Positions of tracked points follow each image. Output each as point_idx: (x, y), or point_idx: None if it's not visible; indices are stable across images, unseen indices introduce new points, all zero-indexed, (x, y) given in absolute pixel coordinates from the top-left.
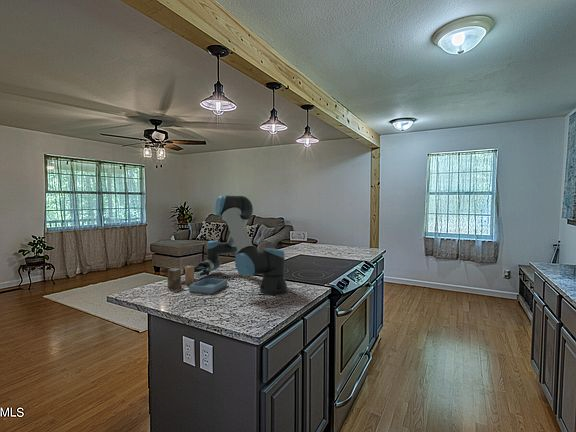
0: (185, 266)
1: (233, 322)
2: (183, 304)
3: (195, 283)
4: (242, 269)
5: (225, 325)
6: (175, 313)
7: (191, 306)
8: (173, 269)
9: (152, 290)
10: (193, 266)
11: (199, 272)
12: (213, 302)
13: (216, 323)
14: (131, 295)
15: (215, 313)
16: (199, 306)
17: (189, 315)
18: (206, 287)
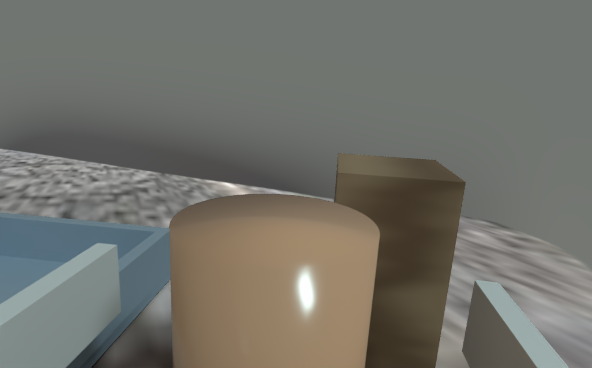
0: (375, 224)
1: (8, 160)
2: (168, 199)
3: (122, 259)
4: None
5: (36, 157)
6: (178, 176)
7: (132, 193)
8: (397, 164)
9: (463, 288)
10: (183, 229)
11: (45, 278)
12: (26, 208)
13: (58, 159)
14: (473, 239)
15: (46, 175)
16: (99, 193)
17: (133, 172)
18: (31, 218)
